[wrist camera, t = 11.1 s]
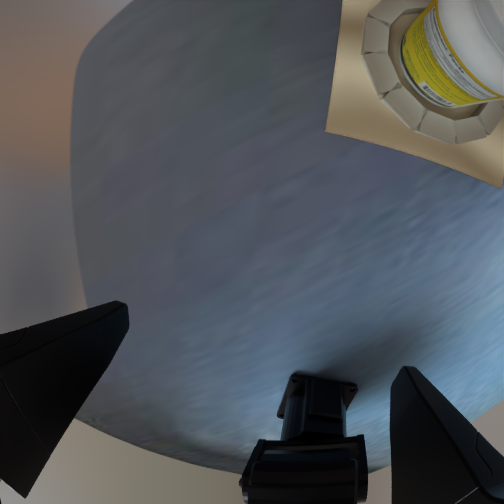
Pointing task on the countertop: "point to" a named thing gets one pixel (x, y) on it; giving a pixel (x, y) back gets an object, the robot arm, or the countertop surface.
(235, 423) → the countertop surface
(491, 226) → the countertop surface
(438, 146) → the collar board
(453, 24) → the pill bottle
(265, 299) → the countertop surface
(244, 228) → the countertop surface
